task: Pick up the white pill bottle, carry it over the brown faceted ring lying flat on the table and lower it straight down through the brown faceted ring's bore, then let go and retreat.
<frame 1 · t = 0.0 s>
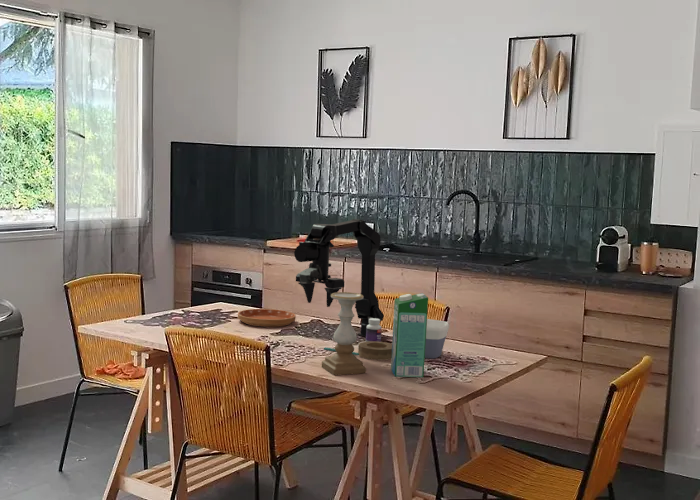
hand: (318, 304, 283), 15 cm above the table, fingers open, 9 cm apart
candle holder: (343, 370, 253), on the table
saucer: (266, 323, 321), on the table
milk carton: (406, 373, 253), on the table
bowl: (424, 355, 279), on the table
brown faceted ring: (376, 355, 274), on the table
teal stick: (342, 352, 276), on the table
pill bottle: (373, 346, 288), on the table
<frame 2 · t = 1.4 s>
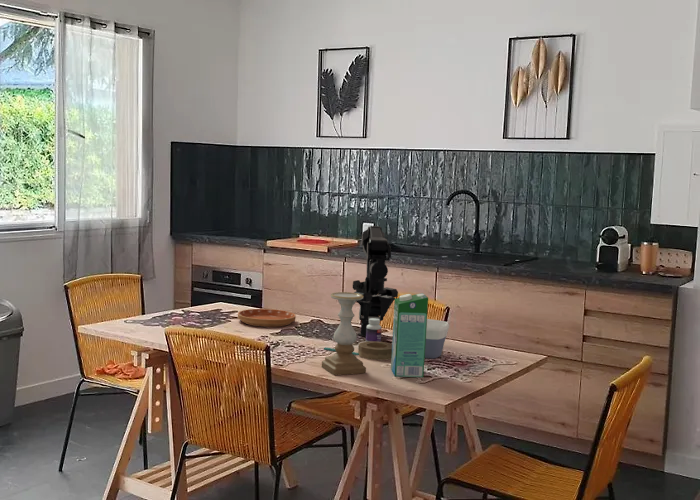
hand: (374, 318, 287), 10 cm above the table, fingers open, 9 cm apart
nothing on the table moved.
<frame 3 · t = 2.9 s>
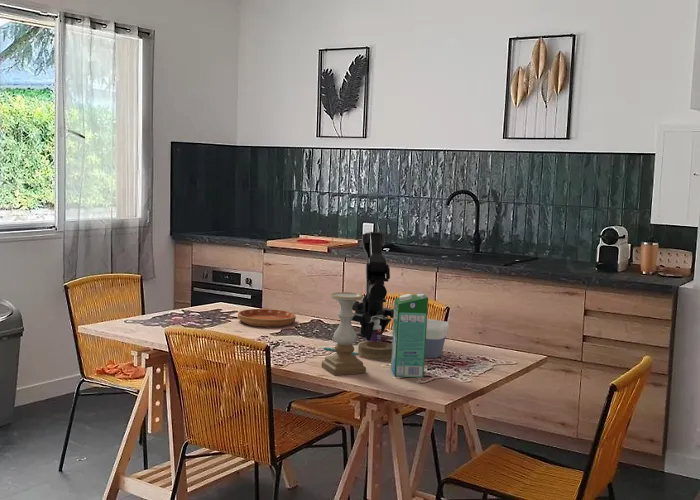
hand: (373, 339, 288), 3 cm above the table, fingers closed on pill bottle, 5 cm apart
pill bottle: (373, 346, 288), on the table, touching gripper
everything else where it was.
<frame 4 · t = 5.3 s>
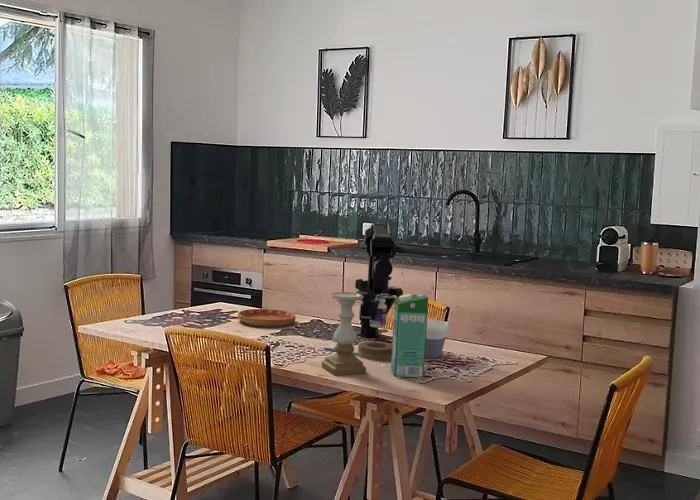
hand: (378, 319, 273), 13 cm above the table, fingers closed on pill bottle, 5 cm apart
pill bottle: (377, 326, 273), point 10 cm above the table, touching gripper
everything else where it was.
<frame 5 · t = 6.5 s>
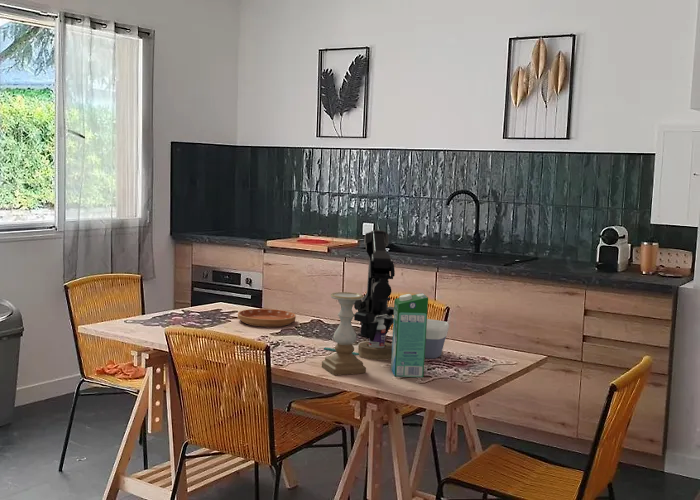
hand: (377, 339, 274), 5 cm above the table, fingers closed on pill bottle, 5 cm apart
pill bottle: (376, 347, 274), point 3 cm above the table, touching gripper
everything else where it was.
when the fingers open (4 cm above the table, at t = 7.6 s): pill bottle drops 2 cm, resting in brown faceted ring.
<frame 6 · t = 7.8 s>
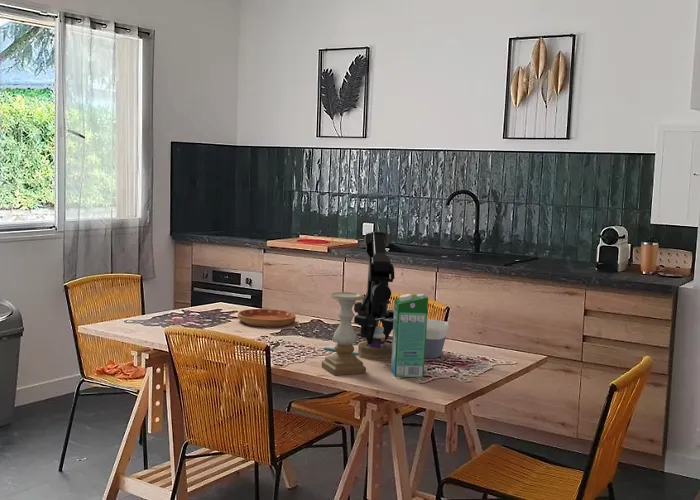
hand: (376, 342, 274), 4 cm above the table, fingers open, 8 cm apart
pill bottle: (376, 356, 274), resting in brown faceted ring
everything else where it was.
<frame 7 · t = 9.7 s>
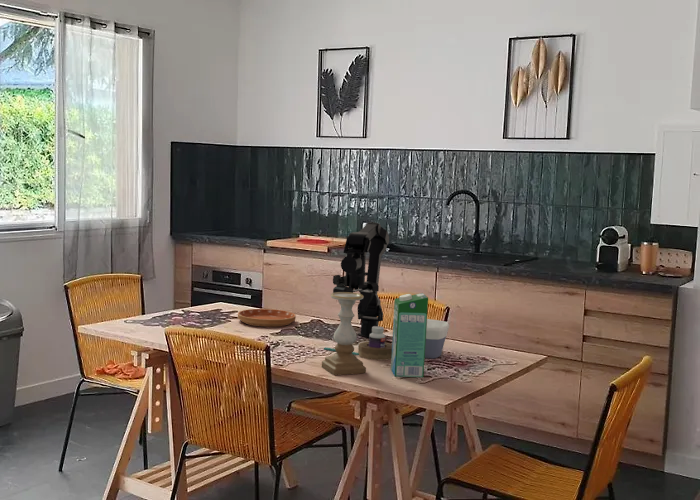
hand: (355, 313, 284), 12 cm above the table, fingers open, 9 cm apart
nothing on the table moved.
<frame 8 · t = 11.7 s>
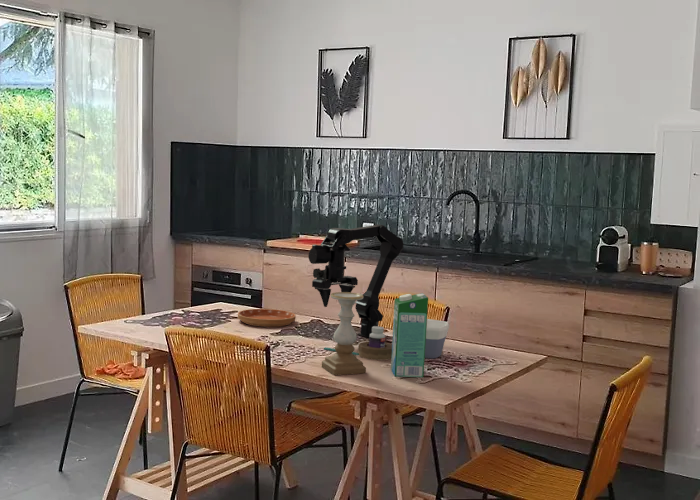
hand: (334, 305, 295), 13 cm above the table, fingers open, 9 cm apart
nothing on the table moved.
at the end: pill bottle 0.1 cm off-centre on the brown faceted ring, point 0.0 cm above the brown faceted ring's base; pill bottle tilted 0°; the gripper is holding nothing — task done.
